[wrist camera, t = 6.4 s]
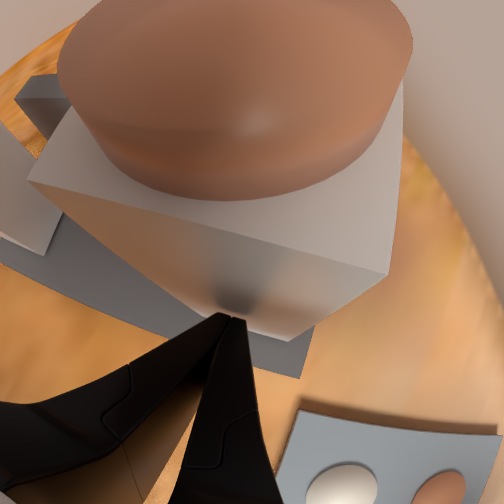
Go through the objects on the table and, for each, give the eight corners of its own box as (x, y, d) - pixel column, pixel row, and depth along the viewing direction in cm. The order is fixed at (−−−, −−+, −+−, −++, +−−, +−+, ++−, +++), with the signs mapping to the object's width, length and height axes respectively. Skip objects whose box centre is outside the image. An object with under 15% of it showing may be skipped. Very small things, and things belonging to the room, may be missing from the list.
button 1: (287, 341, 14) (445, 232, 2) (202, 316, 14) (-23, 133, 2) (310, 258, 15) (414, -19, 3) (229, 236, 16) (155, -46, 3)
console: (297, 377, 15) (317, 390, 9) (1, 262, 17) (-59, 231, 11) (345, 180, 18) (372, 111, 12) (68, 128, 20) (31, 75, 15)
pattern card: (450, 544, 10) (455, 548, 9) (250, 536, 12) (249, 543, 11) (497, 434, 13) (504, 436, 12) (298, 408, 14) (300, 411, 13)
